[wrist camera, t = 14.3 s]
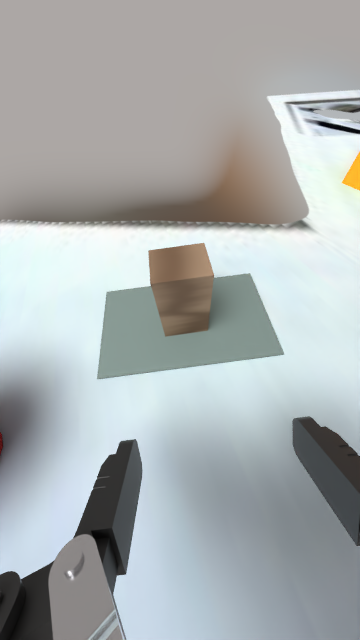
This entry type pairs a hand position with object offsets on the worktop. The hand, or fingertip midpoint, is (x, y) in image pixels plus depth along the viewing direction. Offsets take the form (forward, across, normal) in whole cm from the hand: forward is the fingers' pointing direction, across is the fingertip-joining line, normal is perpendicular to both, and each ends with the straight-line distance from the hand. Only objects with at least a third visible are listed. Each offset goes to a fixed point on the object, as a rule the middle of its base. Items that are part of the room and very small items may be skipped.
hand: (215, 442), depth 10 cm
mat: (+15, 0, -3) cm, 16 cm away
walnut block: (+15, 0, -3) cm, 16 cm away
